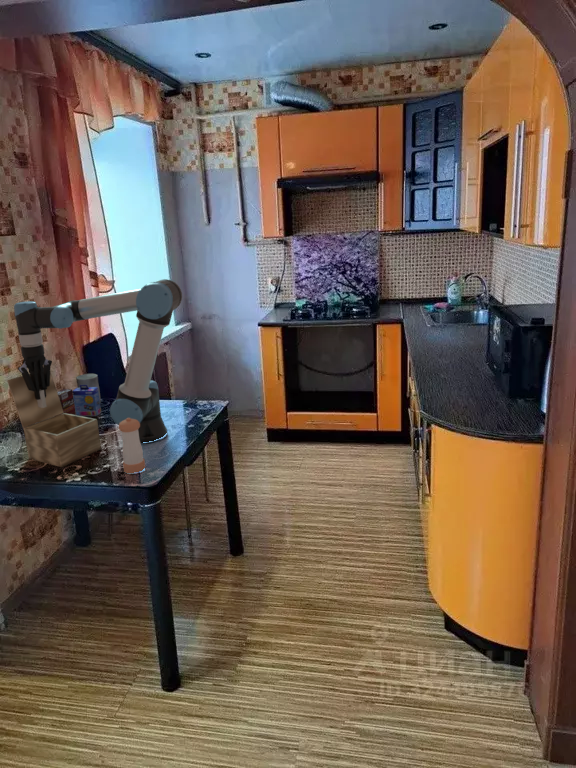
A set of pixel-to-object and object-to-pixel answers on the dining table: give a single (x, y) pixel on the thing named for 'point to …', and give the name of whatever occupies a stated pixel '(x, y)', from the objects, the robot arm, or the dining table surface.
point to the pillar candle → (88, 381)
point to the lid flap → (34, 402)
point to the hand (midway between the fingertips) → (42, 406)
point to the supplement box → (67, 401)
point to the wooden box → (62, 439)
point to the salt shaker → (131, 446)
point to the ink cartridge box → (86, 401)
